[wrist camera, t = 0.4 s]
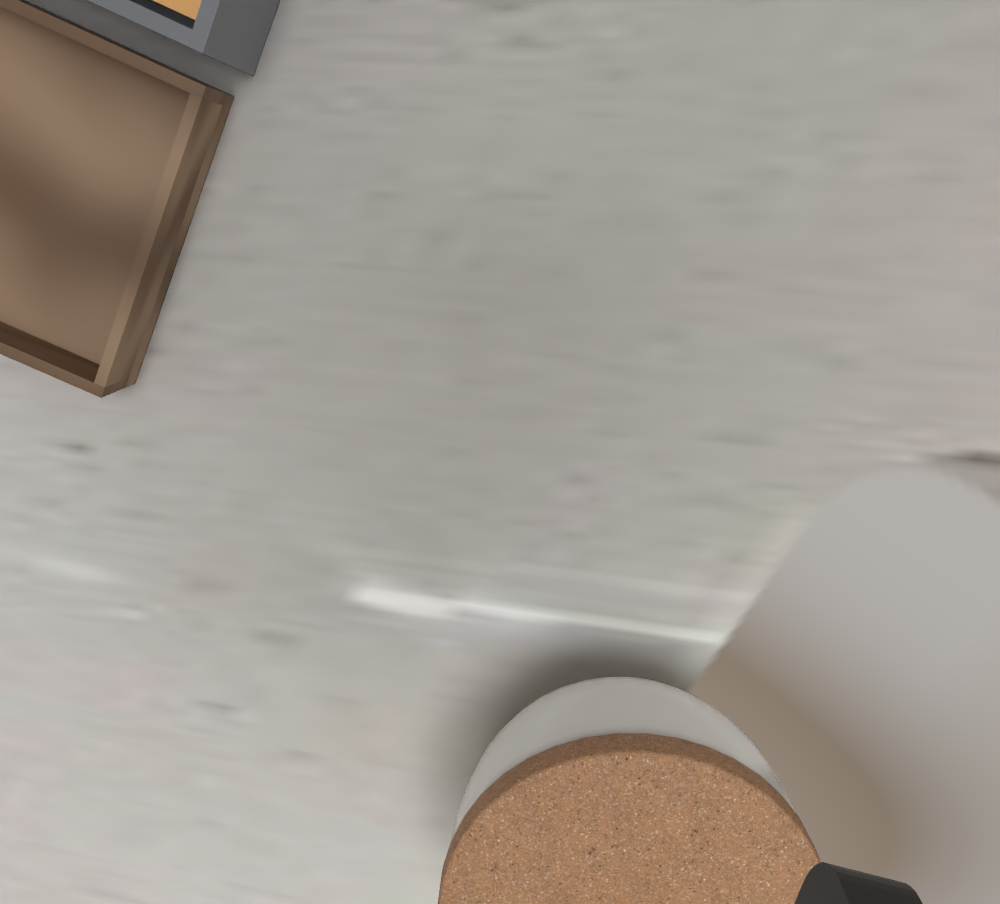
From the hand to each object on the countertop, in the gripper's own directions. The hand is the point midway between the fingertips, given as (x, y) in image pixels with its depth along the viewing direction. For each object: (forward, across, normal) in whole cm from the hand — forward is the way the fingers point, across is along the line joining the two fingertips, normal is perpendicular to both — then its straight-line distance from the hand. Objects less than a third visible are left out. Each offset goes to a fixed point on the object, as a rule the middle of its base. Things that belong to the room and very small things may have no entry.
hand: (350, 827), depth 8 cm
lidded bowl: (+27, -9, +16) cm, 33 cm away
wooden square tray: (+27, +18, -2) cm, 33 cm away
